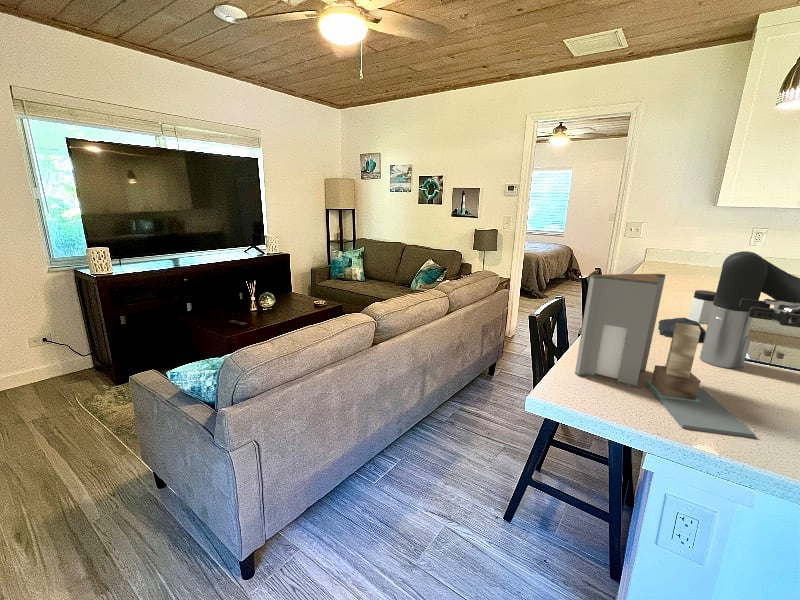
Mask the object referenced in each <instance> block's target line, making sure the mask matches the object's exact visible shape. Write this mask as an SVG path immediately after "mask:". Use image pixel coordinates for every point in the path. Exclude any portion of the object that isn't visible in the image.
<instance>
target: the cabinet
mask: <svg viewBox="0 0 800 600" xmlns="http://www.w3.org/2000/svg"><path fill="white" fill-rule="evenodd" d="M665 280H666V274H665V273H621V274H620V273H619V274H616V273H614V274H590V276H589V282H588V287H587V294H586V299H585V300H586V301H585V306H584V312H583V313H584V314H583V320H582V326H581V333H580V340H579V344H578V345H579V346H578V350H577V351H578V353H577V358H576V365H575V371H574V374H575V375H576V377H591V378H595V379H599V380H603V381H607V382H610V383H616V384H619V385H622V386H627V387H630V388H634V389H637V387H638V383H639V378H640V373H645V372H646V370H647V364H648V360H649V355H650V351H651V345H652V340H653V336H654V331H655V326H656V322H657V318H658V313H659V308H660V303H661V298H662V293H663V289H664V284H665Z"/></svg>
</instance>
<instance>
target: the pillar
mask: <svg viewBox="0 0 800 600" xmlns="http://www.w3.org/2000/svg"><path fill="white" fill-rule="evenodd" d="M700 332H701V331H700V328H699V326H694V325H688V324H682V323H675V328H674V332H673V337H672V338H671V341H670V346H669V349H668V350H669V351H668V355H667V358H666V363H665V366H666V374H669V375H674V376H678V377H683V378H688V379H689V377H690V373H692V372H691V371H692V368H693V365H694V364H693V363H694V359H695V355H696V352H697V347H698V345H699V344H698V343H699V342H698V340H699V336H700Z"/></svg>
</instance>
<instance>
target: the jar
mask: <svg viewBox="0 0 800 600" xmlns="http://www.w3.org/2000/svg"><path fill="white" fill-rule="evenodd" d="M715 294H716V291H710V290H702V289H700V290H698V289H697V290H694V295H693V297H692V300H691V305H690V309H689V313H688V317H687V319H689V320H693V321H696V322H698V323H699V324H700V325H701V324H703V325H704V324H705V325H708V322H709V318H710V314H711V310H712V306H713V302H714V298H715Z"/></svg>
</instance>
